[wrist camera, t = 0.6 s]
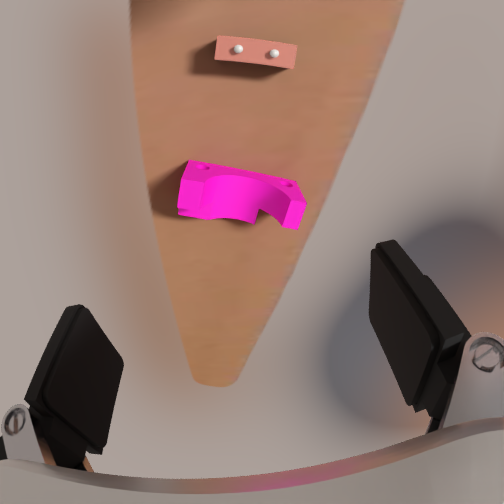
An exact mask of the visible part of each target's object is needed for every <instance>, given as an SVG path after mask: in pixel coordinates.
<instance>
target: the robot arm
mask: <svg viewBox="0 0 504 504" xmlns="http://www.w3.org/2000/svg"><path fill="white" fill-rule="evenodd" d="M370 272H371V273H370V299H369V300H370V301H369V318H370V322H371V324H372V326H373V328H374V331H375V333H376V335H377V337H378V339H379V341H380V344H381V346H382V348H383V350H384V353H385V355H386V357H387V359H388V362H389V364H390V366H391V369H392V371H393V373H394V375H395V378H396V380H397V382H398V385H399V387H400V390H401V392H402V394H403V397H404V399H405V402H406V403H407V405H408V406H410V405H413V408H414V410H415V413H416V412H418V411H421V410H424V409H426V410H427V412H428V414H429V416H430V417H431V420H430V422H429V425H428V428H427V430H426V433H425V435H422V436H419V437H416V438H413V439H410V440H407V441H404V442H401V443H398V444H395V445H392V446H389V447H386V448H383V449H379V450H376V451H372V452H369V453H365V454H362V455H358V456H354V457H350V458H346V459H343V460H338V461H334V462H330V463H326V464H321V465H316V466H311V467H306V468H300V469H295V470H289V471H283V472H275V473H268V474H260V475H251V476H240V477H227V478H208V479H160V478H141V477H128V476H118V475H109V474H101V473H94V471H93V469H92V467H91V465H90V463H89V462H88V459H87V457H86V456H85V453H86V451H87V452H89V453H91V454H100V455H102V451H103V447H105V445H106V443H107V439H108V433H109V429H110V424H111V419H112V414H113V410H114V405H115V401H116V396H117V392H118V388H119V384H120V379H121V375H122V371H123V367H124V363H123V359H122V357H121V356H120V354H119V353H118V352H117V350H116V349H115V348H114V346H113V345H112V343H111V342H110V341H109V339H108V338H107V336H106V335H105V333H104V332H103V330H102V329H101V328H100V326H99V324H98V323H97V322H96V320H95V319H94V317H93V315H92V314H91V312H90V311H89V309H87V308H85V307H84V306H83V305H80V304H79V305H74V306H69V307H67V308H66V309H65V310H64V312H63V314H62V316H61V318H60V320H59V322H58V324H57V326H56V328H55V330H54V332H53V334H52V336H51V338H50V340H49V342H48V344H47V347H46V349H45V351H44V353H43V355H42V357H41V360H40V362H39V365H38V366H37V369H36V371H35V374H34V376H33V378H32V381H31V383H30V386H29V388H28V390H27V393H26V395H25V398H24V400H25V401H26V402H27V403H28V404H29V405H30V407H29V409H28V408H27V407H26V406H24V405H22V404H17V405H14V406H12V407H11V408H10V409H9V410H8V411H7V413H6V414H5V416H4V418H3V421H2V427H1V428H2V436H1V437H0V504H504V340H503V339H502V338H500V337H499V336H498V335H495V334H492V333H487V332H483V333H477V334H475V335H473V336H471V335H470V333H469V331H468V330H467V328H466V327H465V326H464V324H463V323H462V321H461V320H460V318H459V317H458V315H457V314H456V313H455V311H454V310H453V308H452V307H451V306H450V304H449V303H448V302H447V300H446V299H445V298H444V296H443V295H442V293H441V292H440V291H439V289H438V288H437V287H436V285H435V284H434V283H433V282H432V280H431V279H430V278H429V277H428V276H426V275H423V274H422V273H421V271H420V270H419V269H418V267H417V266H416V265H415V264H414V262H413V261H412V260H411V259H410V258H409V256H408V255H407V254H406V252H405V251H404V250H403V249H402V248H401V246H400V245H399V244H398V243H397V242H396V241H395V240H389V241H385V242H380V243H377V244H376V248H375V249H372V250H371V271H370Z"/></svg>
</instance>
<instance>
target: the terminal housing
mask: <svg viewBox="0 0 504 504" xmlns="http://www.w3.org/2000/svg"><path fill="white" fill-rule="evenodd" d="M296 51H297V45H292V44H286V43H280V42H274V41H267V40H260V39H251V38H242V37H232V36H219V35H218V36H217V43H216V51H215V59H214V60H220V61H232V62H242V63H251V64H260V65H267V66H274V67H281V68H287V69H294V64H295V57H296Z"/></svg>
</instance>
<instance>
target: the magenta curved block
mask: <svg viewBox="0 0 504 504" xmlns="http://www.w3.org/2000/svg"><path fill="white" fill-rule="evenodd" d="M306 205H307V203H306V201H305V199H304V197H303V195H302V193H301V191H300V189H299V187H298V185H297V183H296V181H292V180H288V179H284V178H279V177H275V176H270V175H266V174H261V173H256V172H252V171H247V170H242V169H237V168H232V167H226V166H221V165H216V164H210V163H205V162H199V161H193V160H189V162H188V164H187V166H186V169H185V171H184V174H183V176H182V178H181V184H180V191H179V197H178V204H177V208H179V211H178V215H183V216H189V217H195V218H201V219H206V220H210V219H214V218H232V219H238V220H243V221H246V222H249V223H252V224H255V221H256V217H257V214H258V210H259V209H261V210H263V211H265V212H267V213H269V214H270V215H272V216H273V217H274V218H275V219H277V220H278V222H279V223H280V224H281V226H282V227H286V228H291V229H296V230H298V227H299V224H300V221H301V219H302V216H303V213H304V210H305V207H306Z"/></svg>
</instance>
